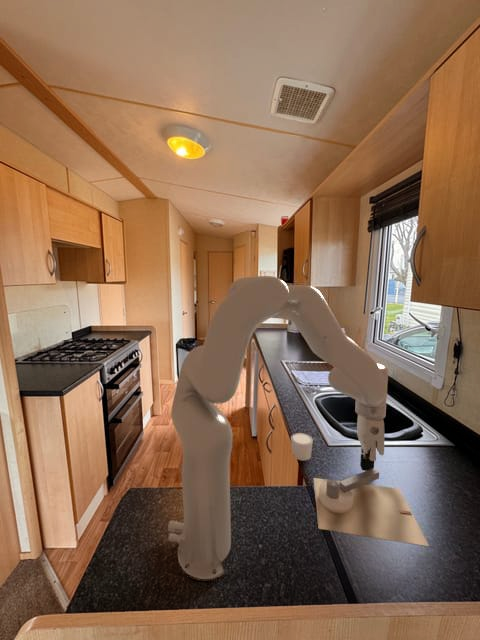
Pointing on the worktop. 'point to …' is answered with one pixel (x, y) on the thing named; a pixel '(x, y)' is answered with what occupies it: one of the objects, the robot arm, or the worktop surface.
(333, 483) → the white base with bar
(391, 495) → the tan flat board
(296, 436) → the white short cylinder
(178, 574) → the worktop surface
